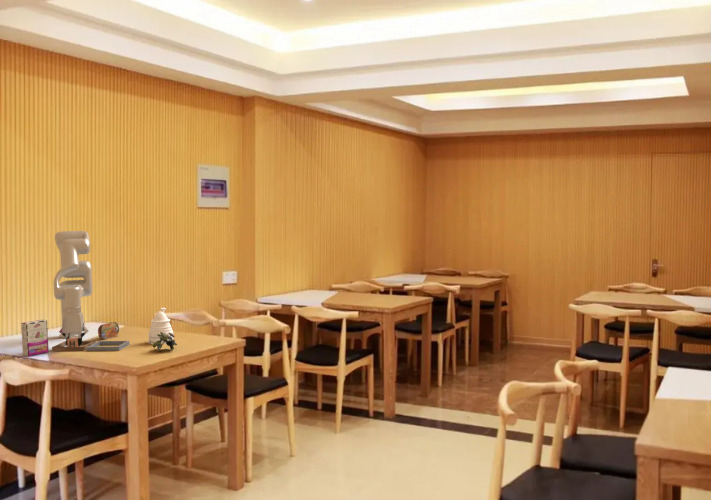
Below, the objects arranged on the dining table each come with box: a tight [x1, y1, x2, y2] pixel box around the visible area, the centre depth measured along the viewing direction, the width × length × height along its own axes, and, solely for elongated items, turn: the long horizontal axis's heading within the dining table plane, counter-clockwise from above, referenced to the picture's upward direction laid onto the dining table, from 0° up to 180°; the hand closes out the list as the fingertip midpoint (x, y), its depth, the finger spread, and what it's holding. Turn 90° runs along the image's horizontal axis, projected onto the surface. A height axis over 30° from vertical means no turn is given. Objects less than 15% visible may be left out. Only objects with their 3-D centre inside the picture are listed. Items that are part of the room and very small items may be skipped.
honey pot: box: [148, 307, 175, 345], centre depth 362 cm, size 13×13×18 cm
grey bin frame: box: [86, 340, 130, 352], centre depth 349 cm, size 16×16×2 cm
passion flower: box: [148, 332, 178, 352], centre depth 340 cm, size 11×11×12 cm
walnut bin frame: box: [51, 340, 97, 352], centre depth 349 cm, size 16×16×2 cm
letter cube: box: [66, 337, 79, 347], centre depth 349 cm, size 5×5×5 cm
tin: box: [97, 321, 120, 340], centre depth 376 cm, size 15×3×8 cm, turn 161°
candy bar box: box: [20, 319, 50, 357], centre depth 334 cm, size 11×5×16 cm, turn 148°
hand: (74, 345), depth 349 cm, fingers closed on letter cube, 5 cm apart
